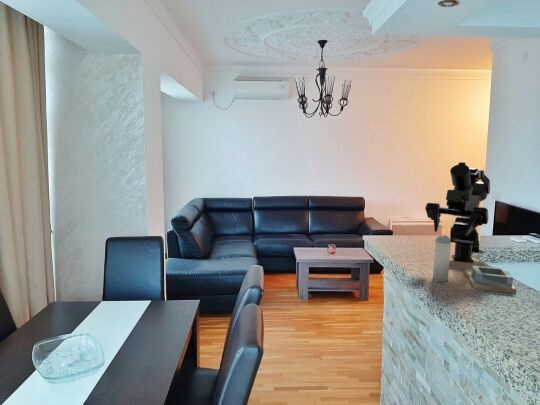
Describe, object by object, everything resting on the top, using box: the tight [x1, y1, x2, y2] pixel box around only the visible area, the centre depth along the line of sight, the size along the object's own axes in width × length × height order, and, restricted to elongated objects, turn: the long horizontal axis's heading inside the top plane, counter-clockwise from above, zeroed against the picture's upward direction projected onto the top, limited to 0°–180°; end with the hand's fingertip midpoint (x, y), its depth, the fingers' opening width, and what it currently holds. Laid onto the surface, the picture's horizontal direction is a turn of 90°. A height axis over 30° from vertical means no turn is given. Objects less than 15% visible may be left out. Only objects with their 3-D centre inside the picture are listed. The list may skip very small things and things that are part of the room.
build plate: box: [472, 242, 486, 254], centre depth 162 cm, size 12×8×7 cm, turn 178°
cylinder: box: [432, 234, 452, 283], centre depth 123 cm, size 4×4×14 cm
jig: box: [464, 265, 517, 294], centre depth 121 cm, size 16×11×4 cm
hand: (450, 233), depth 128 cm, fingers open, 9 cm apart
